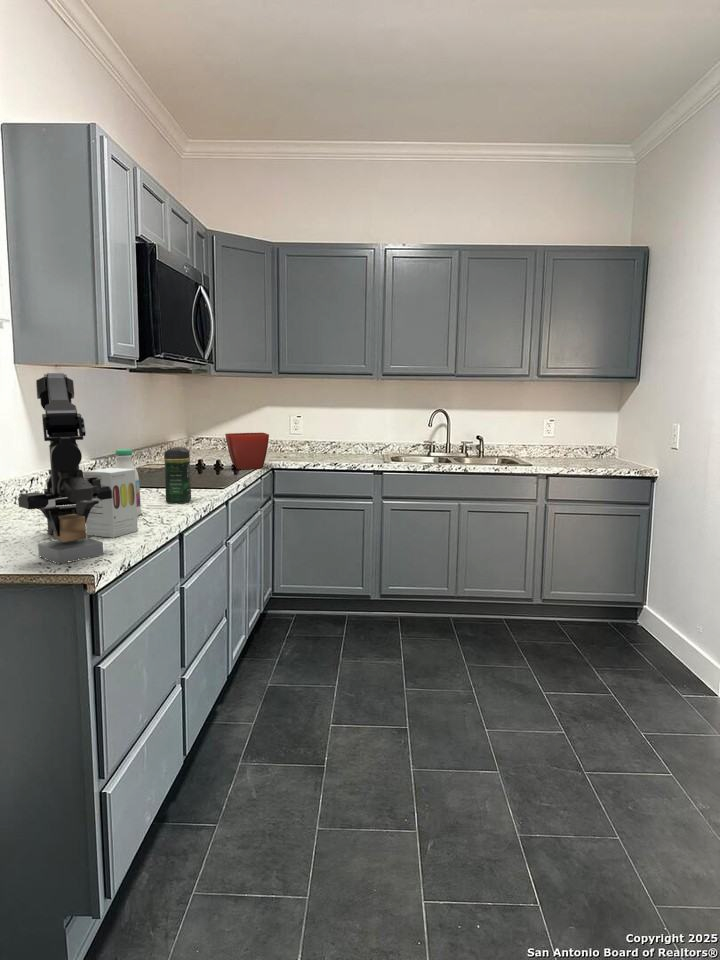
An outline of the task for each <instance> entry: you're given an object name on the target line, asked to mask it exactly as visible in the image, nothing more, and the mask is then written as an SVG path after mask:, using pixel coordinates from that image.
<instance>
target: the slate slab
mask: <svg viewBox="0 0 720 960" xmlns="http://www.w3.org/2000/svg"><path fill="white" fill-rule="evenodd" d="M37 550H38V557H39V556H41V557H43V558H42V559H44V558H46V559H48V560H47V561H49V560H51V561H50V562H52V561H54V562H56V563H55V564H57V563H63V564H65V563H64V562H68V561H73V560H78V559H83V558H87V559H89V558H88V557H92V558H95V557H94V556H97V557H100V556H99V555H102V556H104V542H102V541H100V540H97V539H93V538H90V537H88V536H86V538H85V539H79V540H74V541H68V542H62V541H59V540H56V539H55V540H51V541H46V542H41V543H37ZM41 557H40V558H41ZM46 559H45V560H46ZM83 560H84V559H83ZM78 561H79V560H78ZM54 562H53V563H54ZM73 562H74V561H73ZM68 563H69V562H68Z"/></svg>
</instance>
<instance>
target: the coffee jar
mask: <svg viewBox="0 0 720 960" xmlns="http://www.w3.org/2000/svg"><path fill="white" fill-rule="evenodd" d="M163 455H164V456H163V459H164V474H165V476H164V478H165V479H164V480H165V481H164V482H165V502H166V503H170V504H173V503H178V504H180V503H181V504H182V502H184V503H183V504H186V503H188V502H190V501H191V500H192V487H191V484H192V483H191V457H190V455H191V454H190V450H189V449H188V448H186V447H182V446H175V447H171V448H169V449H167V450H165V451H164V452H163Z"/></svg>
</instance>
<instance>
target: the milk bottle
mask: <svg viewBox="0 0 720 960" xmlns="http://www.w3.org/2000/svg"><path fill="white" fill-rule="evenodd" d="M132 457H133V450H132V448H123V449H121V448H119V449H115V458H116V462H115V467H114V468H122V469H135V483H136V504H137V517H138V516H140V515H141V514H142V508H141V507H142V506H141V491H140V489H141V488H140V478H139V473H138V470H137V468H136V466H135V465H134V462H133V459H132Z"/></svg>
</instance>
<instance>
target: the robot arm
mask: <svg viewBox="0 0 720 960" xmlns="http://www.w3.org/2000/svg"><path fill="white" fill-rule="evenodd" d="M35 385H36V386H35V387H36V397H37V399H39V400H40V405H41V408H42V409H43V410H44V412H45V413H41V416H42V417H41V418H42V419H41V420H42V430H43V431H42V432H43V440H44V442H49V445H48V447H49V461H50V469H48V475H49V476H48V478H47V479H46V488H43V492H38V491H34V492H27V493H26V492H25V493H21V494H20V495H19V496H18V499H17V500H18V502H17V503H18V508H23V509H27V510H40V511H41V512H42V514H43V516H44V517H45V518H46V520H47V521H46V523H47V531H46V532H47V534H49V535H50V534H51V535H53V536H54V533H55V534H56V536H60V525H59V518H58V516H63V515H70V514H77V515H81V516H85V525H86V521H87V518H88V515H89V513H90V510H91V509H92V507H93V506H94V505H95V504H98V503H99V501H96V497H97V498H98V499H100V500H104V499H111V498H113V496H112V490H111V488H110V487H109V486H104V485H101V482H100V479H99V478H98V477H91V478H89V479H84V477H83V470H82V469H81V468H80V463H81V462H82V460H83V459H82V458H83V456H82V452H81V450H80V448H79V445H78V444H77V441H81V440H82V441H83V440H84V437H86V427H85V420H84V418H83V417H82V414H81V413H78V409H77V406H76V405H75V404H74V403H72V399H75V388H74V387H75V386H74V380H73V379H71V378H69V377H68V374H65V373H64V372H63V373H62V372H61V373H60V372H59V373H55V372H54V373H49V372H47V373H46V374H45V373H44V374H43V377H41V378H39V379H36V380H35ZM53 531H54V532H53Z"/></svg>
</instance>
